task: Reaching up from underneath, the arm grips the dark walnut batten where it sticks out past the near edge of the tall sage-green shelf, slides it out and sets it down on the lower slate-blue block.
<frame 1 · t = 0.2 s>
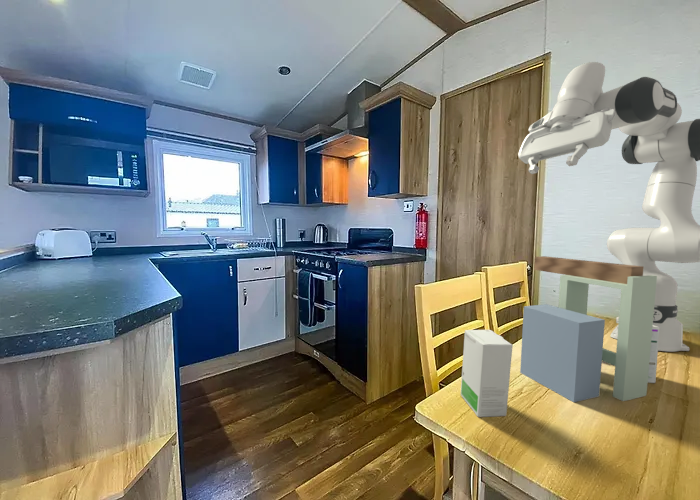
hand: (550, 168, 73), 53 cm above the table, tool tilted 25°, fingers open, 8 cm apart
slate-blue block: (556, 383, 73), on the table
syrup box: (634, 377, 77), on the table
sage shelf: (596, 380, 75), on the table
skincare box: (483, 406, 64), on the table
walnut batten: (580, 275, 78), point 26 cm above the table, touching sage shelf
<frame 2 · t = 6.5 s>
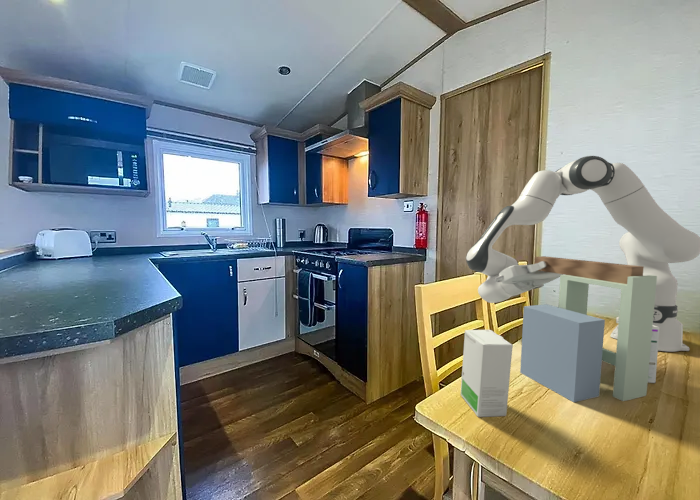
hand: (553, 263, 85), 28 cm above the table, tool pointing upward, fingers closed on walnut batten, 4 cm apart
walnut batten: (580, 275, 78), point 26 cm above the table, touching gripper, sage shelf
everything else where it was.
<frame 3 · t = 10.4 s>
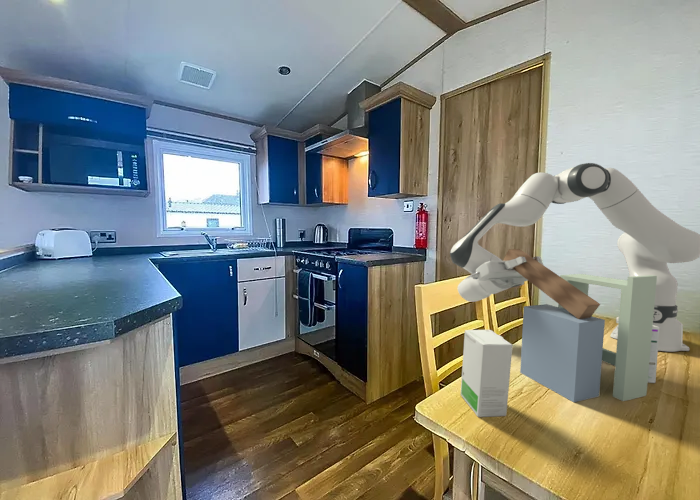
hand: (531, 258, 79), 30 cm above the table, tool pointing upward, fingers closed on walnut batten, 4 cm apart
walnut batten: (541, 285, 77), point 23 cm above the table, tilted 27°, touching gripper
everything else where it was.
when the fingers open (22 cm above the table, at t = 12.1 s): walnut batten stays where it is, resting on slate-blue block.
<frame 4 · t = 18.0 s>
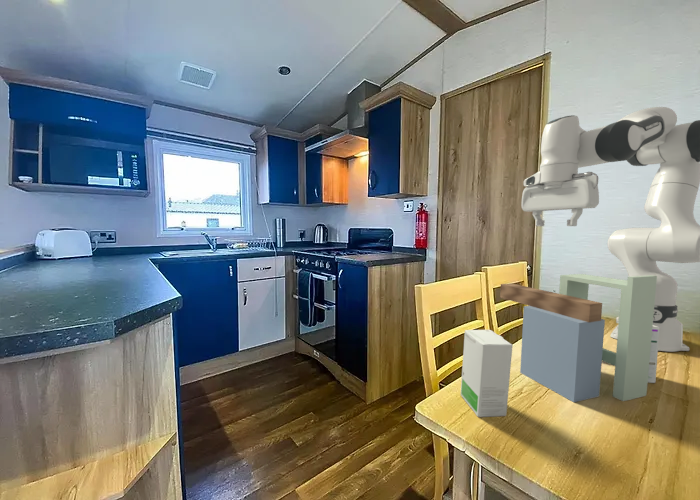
hand: (554, 226, 84), 39 cm above the table, tool pointing down, fingers open, 8 cm apart
walnut batten: (543, 307, 76), point 18 cm above the table, touching slate-blue block
everything else where it was.
at the end: walnut batten inside the target area on the slate-blue block (4.7 cm from its centre), point 18.0 cm above the slate-blue block's base; walnut batten touching slate-blue block; the gripper is holding nothing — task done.
